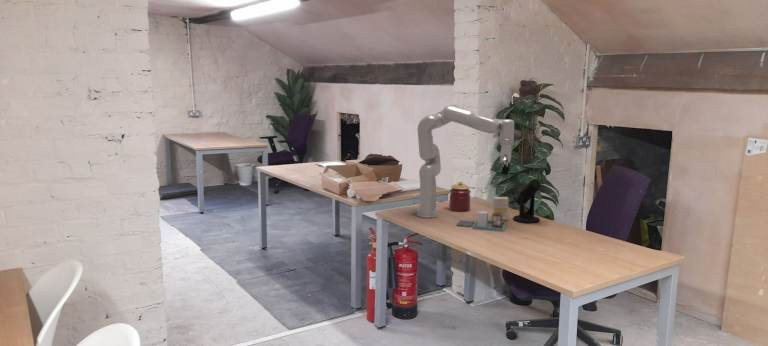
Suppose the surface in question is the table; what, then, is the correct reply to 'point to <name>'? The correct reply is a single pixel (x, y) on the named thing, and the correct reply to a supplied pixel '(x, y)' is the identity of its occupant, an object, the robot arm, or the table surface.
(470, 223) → the mat
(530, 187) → the microphone
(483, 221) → the grey block
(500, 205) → the supplement box
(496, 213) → the walnut block
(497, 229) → the tray
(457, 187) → the canister
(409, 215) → the table surface
